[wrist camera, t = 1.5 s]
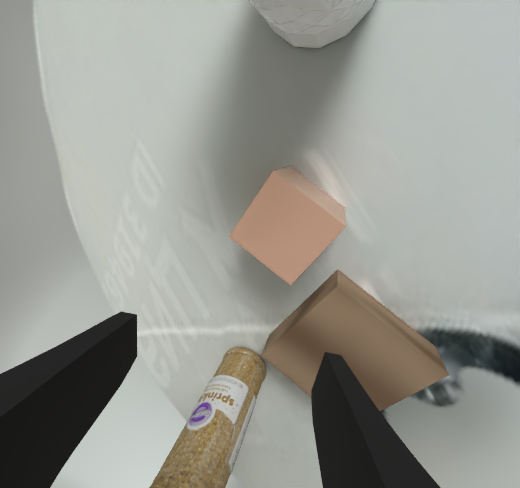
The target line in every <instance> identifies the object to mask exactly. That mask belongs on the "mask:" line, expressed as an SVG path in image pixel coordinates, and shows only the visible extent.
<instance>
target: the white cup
mask: <svg viewBox="0 0 520 488" xmlns="http://www.w3.org/2000/svg"><path fill="white" fill-rule="evenodd" d="M249 1H250V2H251V4H252V5H253V6H254V7H255V8H256V9H257V11H258V12H259V13H260V14H261V15H262V16H263V17H264V18H265V20H266V21H267V23H268V24H269V26H270V27H271V29H272V30H273V32H275V33H276V34H277V35H279V36H280V37H282V38H283V39H284V40H286V41H287V42H288V43H290V44H291V45H292V46H294V47H310V48H321V47H323V46H325V45H327V44H329V43H331V42H333V41H335V40H338V39H340V38H342V37H344V36H346V35H347V34H348V33H349V32H350V31H351V30H352V29H353V28H354V27H355V26H356V25H357V23H358V22H359V21H360V20H361V19H362V18H363V17H364V16H365V15H366V14H367V13H368V11H369V10H370V9H371V8H372V6H373V4H374V2H375V0H249Z"/></svg>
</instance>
